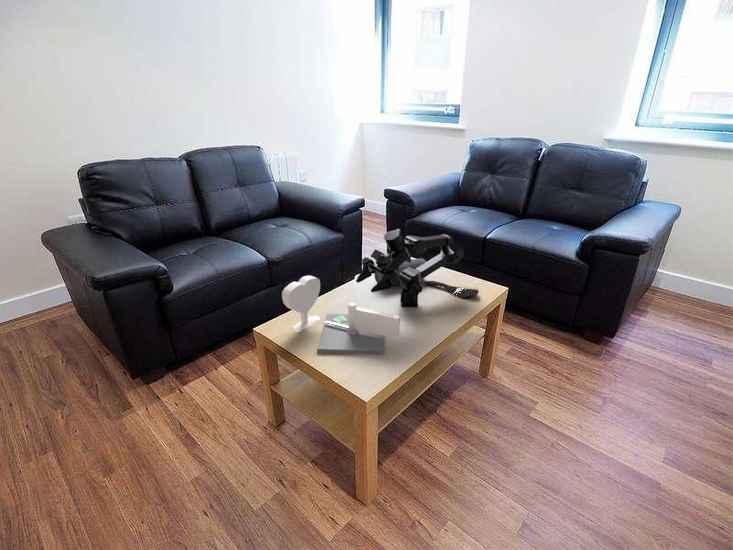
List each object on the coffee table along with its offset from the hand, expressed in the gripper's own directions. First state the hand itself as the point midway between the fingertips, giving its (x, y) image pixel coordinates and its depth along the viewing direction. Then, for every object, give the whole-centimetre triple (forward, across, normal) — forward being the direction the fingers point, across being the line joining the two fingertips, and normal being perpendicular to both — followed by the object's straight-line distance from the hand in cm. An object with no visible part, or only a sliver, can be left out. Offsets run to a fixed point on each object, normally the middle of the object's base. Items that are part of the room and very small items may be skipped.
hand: (363, 286), depth 139 cm
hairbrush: (-33, +2, +33) cm, 47 cm away
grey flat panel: (+14, +5, +10) cm, 18 cm away
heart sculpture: (+24, -12, +6) cm, 27 cm away
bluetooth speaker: (-23, -16, +27) cm, 39 cm away
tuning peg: (+11, +7, +8) cm, 16 cm away
